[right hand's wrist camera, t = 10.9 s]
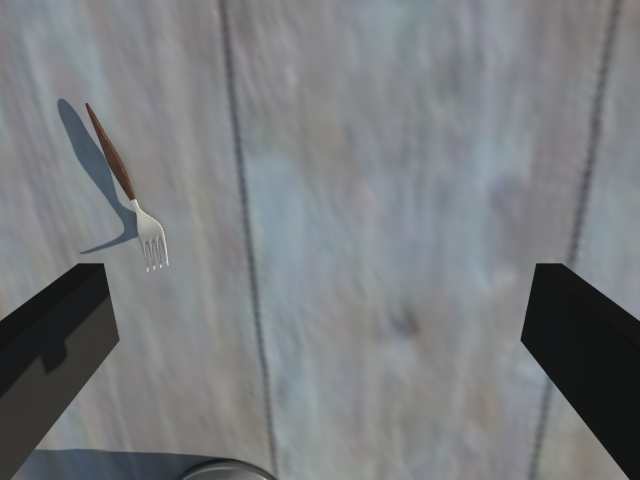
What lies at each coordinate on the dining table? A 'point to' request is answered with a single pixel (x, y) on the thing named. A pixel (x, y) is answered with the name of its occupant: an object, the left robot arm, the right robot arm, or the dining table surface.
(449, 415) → the dining table surface
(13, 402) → the right robot arm
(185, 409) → the dining table surface
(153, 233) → the fork
